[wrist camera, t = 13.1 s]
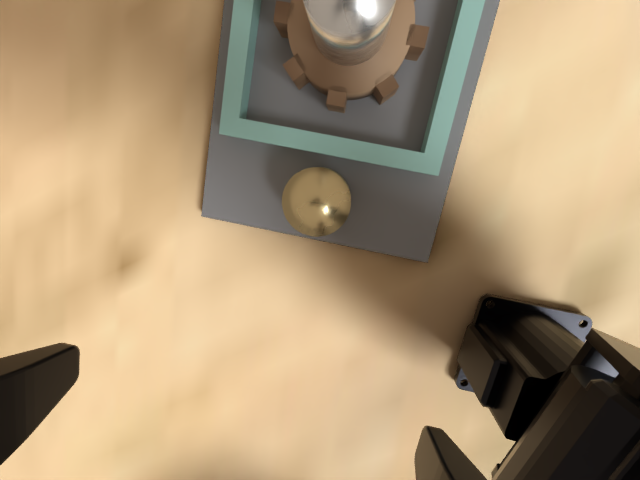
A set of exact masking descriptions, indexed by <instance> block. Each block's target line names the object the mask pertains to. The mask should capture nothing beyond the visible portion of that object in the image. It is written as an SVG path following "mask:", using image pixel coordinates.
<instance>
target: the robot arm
mask: <svg viewBox="0 0 640 480" xmlns="http://www.w3.org/2000/svg"><path fill="white" fill-rule="evenodd" d="M488 301H492V303H491V305H489V306H486V303H487V302H488ZM582 320H583V323H582V324H580V325H579V322H580V321H582ZM591 327H592V320H591V319H590V318H589V317H588V316H586V315H584V314H582V313H577V312H573V311H568V310H563V309H558V308H553V307H549V306H544V305H539V304H534V303H529V302H525V301H520V300H515V299H510V298H505V297H501V296H496V295H491V294H486V295H483V296H482V297H481V298H480V300H479V303H478V306H477V309H476V313H475V316H474V319H473V322H472V324H470V325H469V326H468V327H467V330H466V333H465V336H464V339H463V343H462V346H461V349H460V352H459V355H458V358H457V361H458V363H459V365H458V368H457V371H456V375H455V378H454V380H455V383H456V385H457V387H458V388H459V389H462V390H466V391H471V392H474V393H475V394H476V396H477V398H478V400H479V402H480V403H481V405H482V406H483V407H487V408H489V409H490V411H491V413H492V415H493V416H494V418H495V420H496V422H497V424H498V425H499V427H500V429H501V431H502V432H503V434H504V436H505V437H506V438H507V439H509V440H513V441H516V442H515V444H514V445H513V446H512V448H511V449H510V451H509V452H508V454H507V455H506V456H505V458H504V459H503V461H502V462H501V464H497V465H496V466H495V468H494V469H493V471H492V480H640V348H638V347H635V346H633V345H631V344H628V343H626V342H624V341H621V340H619V339H617V338H615V337H612V336H610V335H608V334H605V333H603V332H601V331H598V330H596V329H594V328H591ZM590 329H591V330H590ZM586 340H587V341H586ZM585 341H586V342H585ZM79 356H80V351H79V348H78V347H77V346H75V345H71V344H67V343H58V344H54V345H50V346H46V347H42V348H38V349H34V350H30V351H27V352H23V353H19V354H15V355H11V356H7V357H3V358H0V465H1V464H2V463H3V462H4V461H5V460H6V459H7V458H8V457H9V456H10V455H11V454H12V453H13V452H14V451H15V450H16V449H17V448H18V447H19V446H20V445H21V444H22V443H23V442H24V441H25V440H26V439H27V438H28V437H29V436H30V435H31V434H32V432H33V431H34V430H35V429H36V428H37V427H38V426H39V424H40V423H41V422H42V421H43V420H44V419H45V417H46V416H47V415H48V414H49V413H50V412H51V410H52V409H53V408H54V407H55V406H56V405H57V404H58V402H59V401H60V400H61V399H62V398H63V397H64V395H65V394H66V393H67V392H68V391H69V390H70V388H71V387H72V386H73V385H74V384H75V382H76V380H77V378H78V376H79ZM463 379H466V381H465V382H461V380H463ZM415 473H416V480H487V479H486V478H485V477H484V476H483V474H482V473H481V472H480V471H479V470H478V469H477V468H476V467H475V466H474V464H473V463H472V462H471V461H470V460H469V459H468V458H467V457H466V455H465V454H464V453H463V452H462V451H461V450H460V449H459V448H458V446H457V445H456V444H455V443H454V442H453V441H452V440H451V439H450V438H449V436H448V435H447V434H446V433H445V432H444V431H443V430H442V429H440V428H436V427H431V426H425V427H424V428H423V430H422V433H421V436H420V439H419V442H418V446H417V449H416V452H415Z"/></svg>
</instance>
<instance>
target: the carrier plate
mask: <svg viewBox="0 0 640 480" xmlns="http://www.w3.org/2000/svg"><path fill="white" fill-rule="evenodd" d="M277 1H283V2H288V3H291V0H277ZM499 2H500V0H416V1H415V2H414V6H415V25H421V26H427V27H430V28H429V32H428V36H427V40H426V45H425V48H424V50H423V52H422V53H421V55H420V56H419V58H418V60H417V61H412V60H406V59H404V60H403V62H402V64H401V66H400V68H399V70H398V71H397V73H396V74H395V76H394V78H395V80H396V81H397V83H398V85H399V88H398V90H397V91H396V93H395V95H394V96H392V97H391V98H389V99H388V100H386V101H385V102H384V103H382V104H381V105H380V104H379V103H378V101H377V100H376V98H375V96H374V95H373V94H372V95H370V96H368V97H365V98H362V99H357V100H347V103H346V108H345V113H340V112H335V111H329V110H328V108H327V105H326V101H327V95H325V94H323V93H321V92H319V91H318V90H317V89H316V88H314V87H313V86H312V85H311V84H310V83H308V84H306V85H305V86H304V87H303V88H301V89H300V90H299V89H298V88H297V86H296V85H295V83H294V82H293V80H292V79H291V77H290V76H289V74H288V73H287V71H286V70H285V68H284V67H283V64H284V63H286V62H287V61H288V60H289V59H291V58H292V57H293V56H294V55H293V53H292V50H291V47H290V43H289V39H288V38H283V37H281V35H280V33H279V31H278V29H277V27H276V26H275V24H274V22H273V20H274V13H275V6H276V0H224V8H223V18H222V27H221V37H220V46H219V55H218V65H217V74H216V84H215V93H214V102H213V112H212V121H211V131H210V140H209V149H208V159H207V168H206V178H205V187H204V196H203V206H202V215H201V216H203V217H208V218H212V219H217V220H222V221H227V222H232V223H237V224H242V225H247V226H251V227H256V228H261V229H266V230H271V231H276V232H281V233H285V234H290V235H295V236H300V237H305V238H310V239H315V240H320V241H324V242H329V243H334V244H339V245H344V246H349V247H354V248H359V249H363V250H368V251H373V252H378V253H383V254H388V255H393V256H398V257H402V258H407V259H412V260H417V261H422V262H427V263H428V259H429V256H430V252H431V248H432V245H433V241H434V238H435V234H436V230H437V227H438V223H439V219H440V216H441V212H442V209H443V205H444V201H445V198H446V194H447V190H448V187H449V183H450V179H451V176H452V172H453V169H454V165H455V161H456V158H457V154H458V150H459V147H460V143H461V140H462V136H463V132H464V129H465V125H466V121H467V118H468V114H469V111H470V107H471V103H472V100H473V96H474V92H475V89H476V85H477V81H478V78H479V74H480V71H481V67H482V63H483V60H484V56H485V52H486V49H487V45H488V42H489V38H490V34H491V31H492V27H493V23H494V20H495V16H496V13H497V9H498V5H499Z"/></svg>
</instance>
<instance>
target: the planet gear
mask: <svg viewBox="0 0 640 480" xmlns="http://www.w3.org/2000/svg"><path fill="white" fill-rule="evenodd" d="M415 1H416V0H291V3H288V2H283V1H277V0H276V6H275V13H274V20H273V22H274V24H275V26H276V27H277V29H278V31H279V33H280V35H281V37H283V38H288V39H289V43H290V47H291V50H292V53H293V55H294V56H293V57H292V58H291V59H289V60H288V61H287V62H286V63H284V64H283V67H284V68H285V70H286V71H287V73H288V74H289V76H290V77H291V79H292V80H293V82H294V83H295V85H296V86H297V88H298V89H299V90H300V89H301V88H303V87H304V86H305V85H306V84H308V83H310V84H311V85H312V86H313V87H314V88H316V89H317V90H318V91H319V92H321V93H323V94H325V95H327V101H326V105H327V108H328V110H329V111H335V112H340V113H345V108H346V103H347V100H357V99H362V98H365V97H368V96H370V95H372V94H373V95H374V96H375V98H376V100H377V101H378V103H379V104H380V105H381V104H382V103H384V102H385V101H386V100H388V99H389V98H391V97H392V96H394V95H395V93H396V91H397V90H398V88H399V85H398V83H397V81H396V80H395V78H394V76H395V74H396V73H397V71H398V70H399V68H400V66H401V64H402V62H403V60H404V59H406V60H412V61H417V60H418V58H419V56H420V55H421V53H422V52H423V50H424V48H425V45H426V40H427V36H428V32H429V28H430V27H427V26H421V25H415V6H414V2H415Z"/></svg>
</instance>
